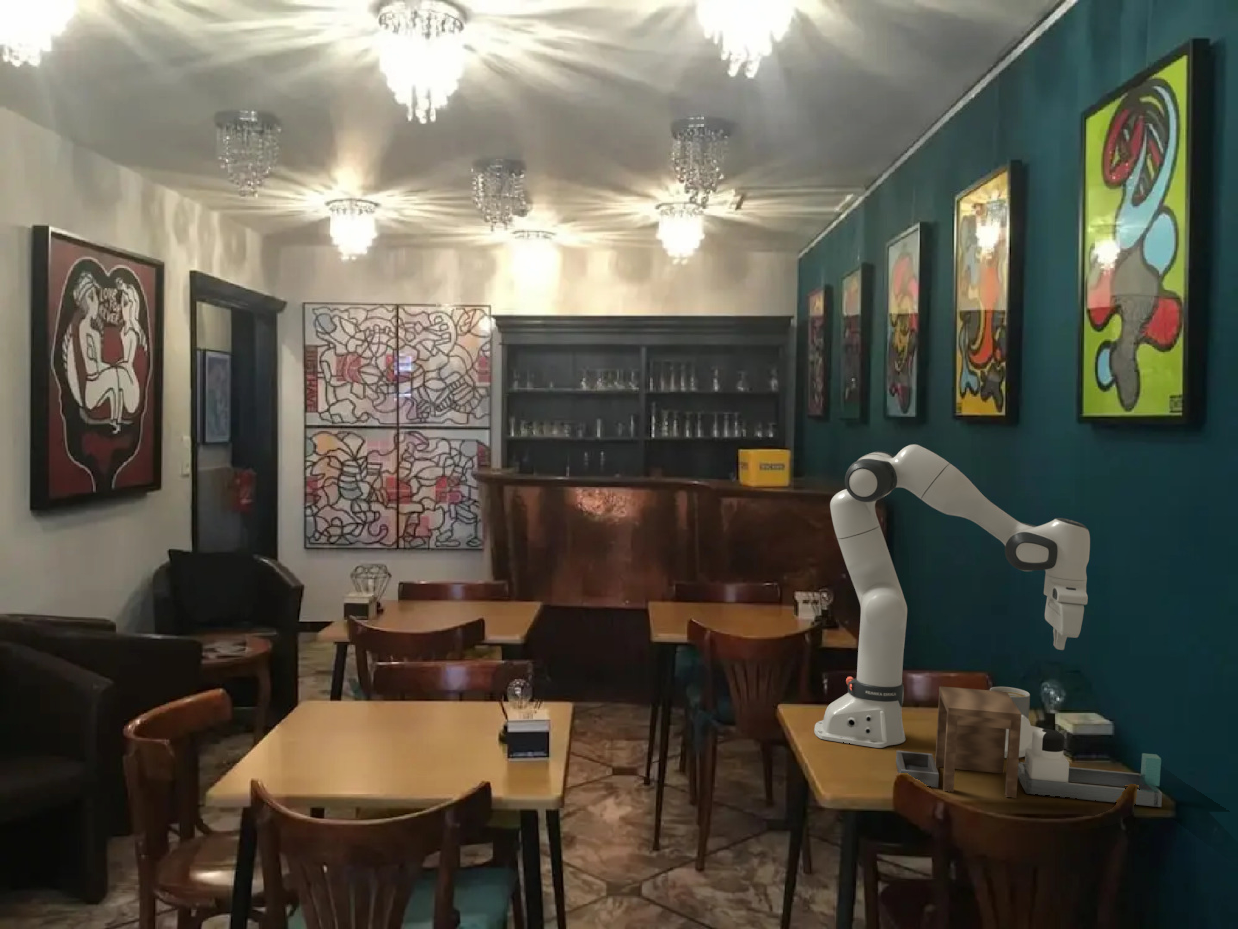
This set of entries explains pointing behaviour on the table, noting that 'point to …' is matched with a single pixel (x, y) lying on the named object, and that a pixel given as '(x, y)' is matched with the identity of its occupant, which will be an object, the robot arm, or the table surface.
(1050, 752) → the container
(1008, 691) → the coffee mug
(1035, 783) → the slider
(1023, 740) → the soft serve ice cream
